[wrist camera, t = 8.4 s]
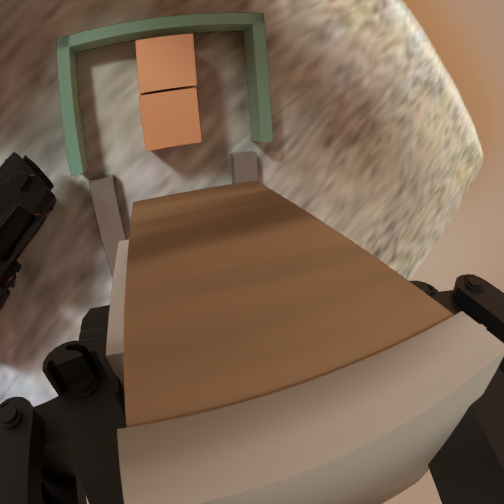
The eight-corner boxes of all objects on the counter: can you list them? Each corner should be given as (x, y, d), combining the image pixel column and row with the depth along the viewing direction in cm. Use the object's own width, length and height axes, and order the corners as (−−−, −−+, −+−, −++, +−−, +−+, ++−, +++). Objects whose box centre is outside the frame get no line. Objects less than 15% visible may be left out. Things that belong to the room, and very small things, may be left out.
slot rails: (90, 179, 23) (88, 182, 22) (252, 151, 27) (256, 152, 26) (122, 302, 29) (122, 308, 28) (260, 272, 32) (264, 276, 31)
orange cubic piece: (140, 99, 22) (138, 96, 19) (188, 92, 23) (196, 87, 20) (145, 146, 24) (145, 151, 20) (193, 138, 25) (201, 142, 21)
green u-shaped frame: (63, 45, 18) (56, 39, 16) (253, 21, 22) (263, 13, 20) (77, 170, 23) (71, 175, 20) (262, 139, 27) (272, 141, 25)
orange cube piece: (136, 51, 20) (135, 40, 17) (185, 45, 21) (192, 33, 18) (140, 97, 22) (139, 93, 19) (189, 89, 23) (196, 85, 20)
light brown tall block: (130, 200, 13) (125, 512, 2) (258, 178, 14) (508, 347, 4) (154, 302, 15) (213, 565, 4) (264, 278, 16) (418, 481, 6)
